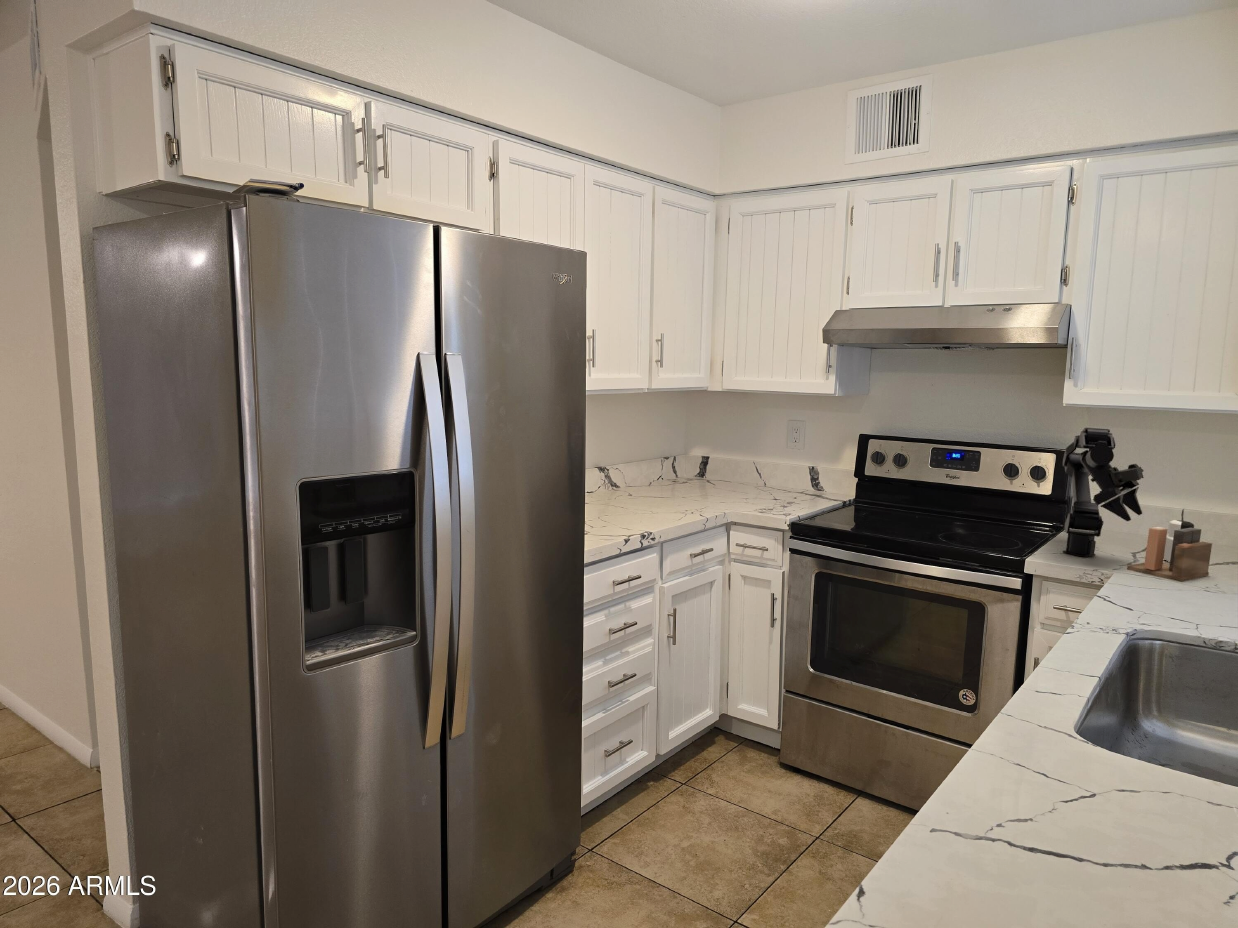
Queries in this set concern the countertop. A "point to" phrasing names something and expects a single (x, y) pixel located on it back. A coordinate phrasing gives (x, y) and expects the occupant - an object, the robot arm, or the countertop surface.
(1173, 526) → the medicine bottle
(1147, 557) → the orange rectangular block
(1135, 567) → the brown wooden book holder
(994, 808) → the countertop surface
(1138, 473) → the robot arm
